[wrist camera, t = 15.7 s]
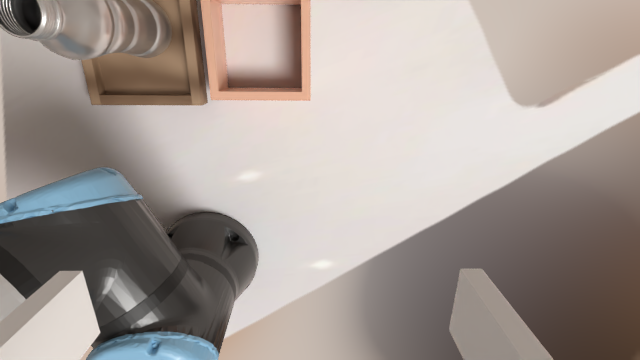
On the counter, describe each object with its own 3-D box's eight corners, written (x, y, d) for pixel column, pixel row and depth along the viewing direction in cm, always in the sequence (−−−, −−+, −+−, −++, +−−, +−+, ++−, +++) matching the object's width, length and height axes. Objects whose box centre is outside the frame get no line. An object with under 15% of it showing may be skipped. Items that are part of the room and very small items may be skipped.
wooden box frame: (310, 95, 45) (310, 100, 40) (221, 95, 45) (211, 99, 40) (310, -5, 41) (310, -12, 36) (212, -6, 41) (199, -14, 36)
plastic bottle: (172, -3, 40) (48, -53, 21) (181, 57, 42) (77, 60, 24) (118, -2, 40) (-55, -52, 21) (130, 58, 42) (-15, 62, 23)
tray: (207, 102, 45) (201, 105, 43) (103, 102, 45) (91, 104, 43) (190, -54, 39) (182, -61, 37) (68, -56, 39) (53, -64, 36)
